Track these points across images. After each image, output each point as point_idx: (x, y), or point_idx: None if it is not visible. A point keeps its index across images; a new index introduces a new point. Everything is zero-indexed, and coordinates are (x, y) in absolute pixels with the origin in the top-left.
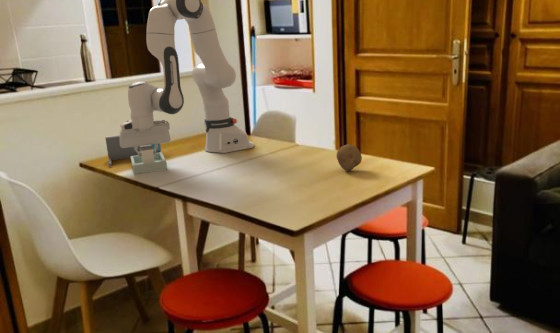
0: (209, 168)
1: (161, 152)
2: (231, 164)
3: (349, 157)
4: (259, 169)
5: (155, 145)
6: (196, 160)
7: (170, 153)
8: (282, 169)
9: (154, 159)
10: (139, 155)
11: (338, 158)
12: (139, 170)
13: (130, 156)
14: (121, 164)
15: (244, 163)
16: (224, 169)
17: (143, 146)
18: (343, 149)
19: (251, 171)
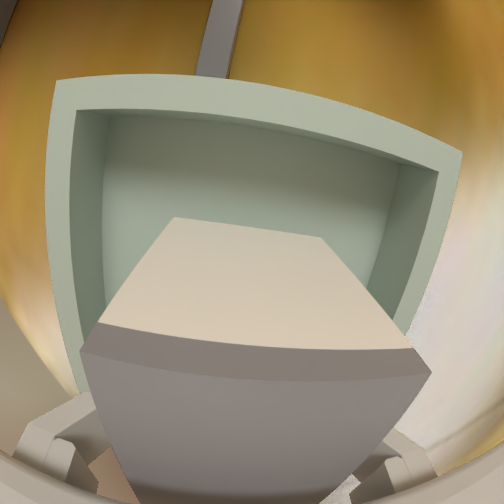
0: (425, 441)
1: (459, 168)
2: (478, 417)
3: None
4: (457, 457)
5: (361, 500)
6: (495, 322)
7: (478, 18)
8: (467, 458)
9: (346, 151)
10: None
11: None
12: None
13: (55, 88)
14: (42, 56)
15: (491, 415)
16: (433, 452)
17: (187, 494)
18: None
19: (440, 466)
